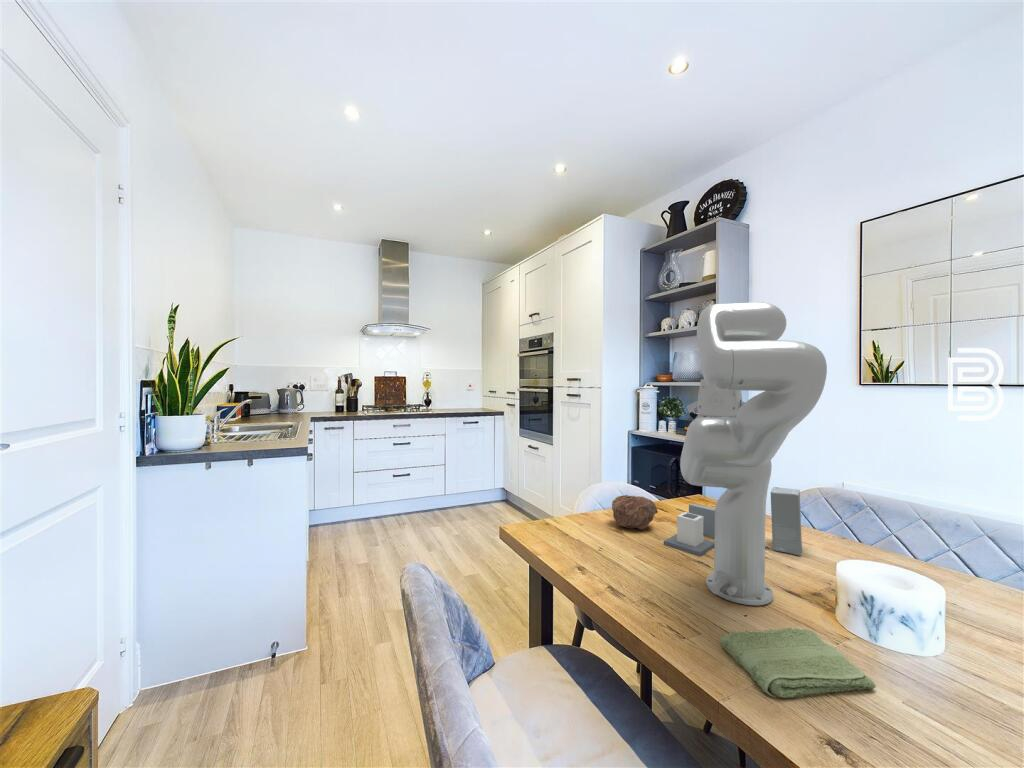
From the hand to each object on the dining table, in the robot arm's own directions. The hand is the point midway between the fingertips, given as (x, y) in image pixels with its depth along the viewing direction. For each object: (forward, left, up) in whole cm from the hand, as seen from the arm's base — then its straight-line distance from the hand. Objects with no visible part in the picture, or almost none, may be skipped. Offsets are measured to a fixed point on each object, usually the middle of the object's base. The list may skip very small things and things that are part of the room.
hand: (719, 438), depth 108 cm
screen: (+9, +5, -30) cm, 32 cm away
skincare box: (+16, -11, -30) cm, 36 cm away
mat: (-2, +7, -30) cm, 31 cm away
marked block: (-2, +7, -29) cm, 30 cm away
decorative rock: (-1, +25, -30) cm, 39 cm away
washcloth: (-37, -26, -31) cm, 54 cm away
